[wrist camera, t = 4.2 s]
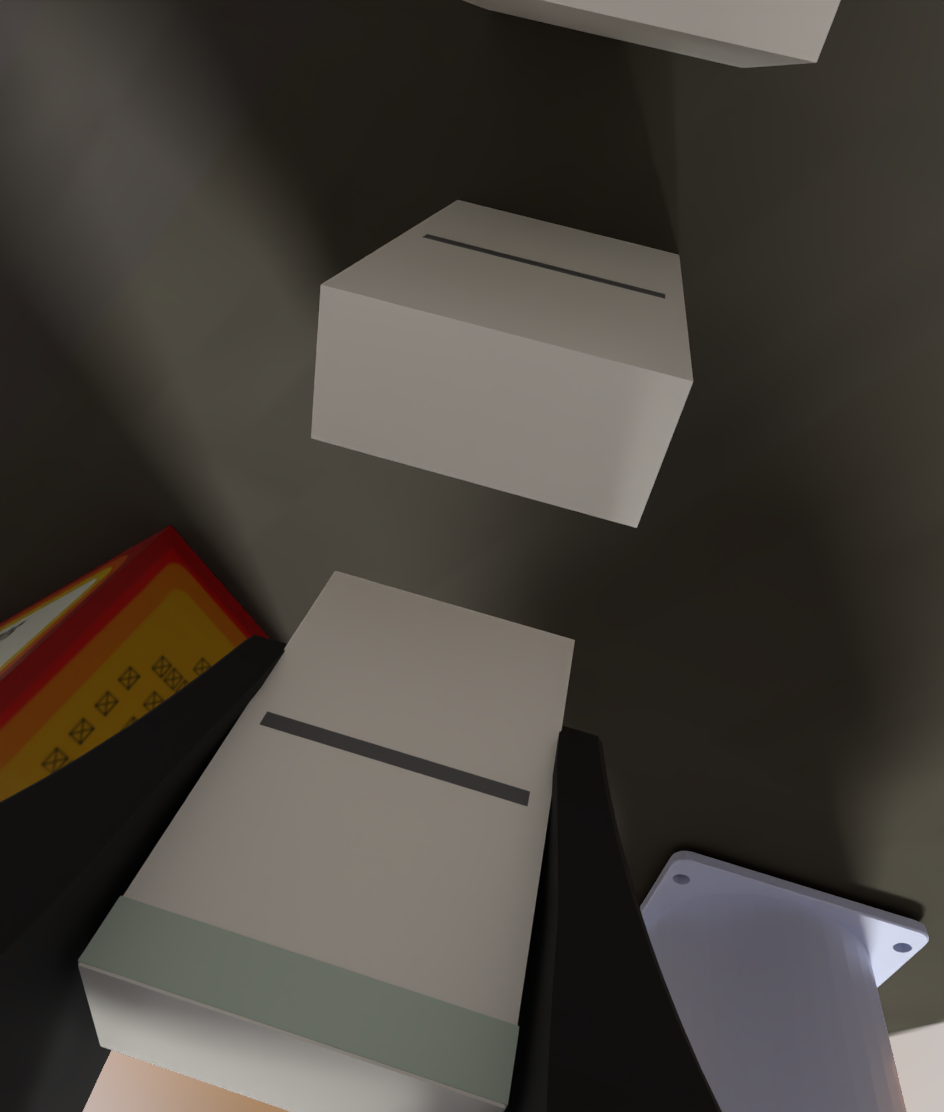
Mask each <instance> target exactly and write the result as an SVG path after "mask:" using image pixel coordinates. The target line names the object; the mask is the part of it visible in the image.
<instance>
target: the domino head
mask: <svg viewBox="0 0 944 1112" xmlns="http://www.w3.org/2000/svg"><path fill="white" fill-rule="evenodd" d="M574 643H575V640H573V639H570V638H566V637H563V636H560V635H556V634H553V633H549V632H546V631H542V630H539V629H535V628H532V627H528V626H525V625H521V624H518V623H515V622H511V621H508V620H504V619H501V618H497V617H494V616H490V615H487V614H483V613H480V612H476V611H473V610H470V609H466V608H463V607H459V606H456V605H452V604H449V603H445V602H442V601H438V600H435V599H431V598H428V597H425V596H421V595H418V594H414V593H411V592H407V591H404V590H400V589H397V588H393V587H390V586H386V585H383V584H380V583H376V582H373V581H369V580H366V579H362V578H359V577H355V576H352V575H348V574H345V573H341V572H338V571H335V572H334V573H333V575H332V576H331V578H330V579H329V581H328V582H327V584H326V585H325V587H324V589H323V590H322V592H321V593H320V595H319V596H318V598H317V599H316V601H315V602H314V604H313V605H312V607H311V608H310V610H309V612H308V613H307V615H306V616H305V618H304V619H303V621H302V622H301V624H300V625H299V627H298V628H297V630H296V631H295V633H294V635H293V636H292V638H291V639H290V641H289V642H288V644H287V645H286V647H285V648H284V650H285V652H284V653H283V655H282V656H281V658H280V659H279V661H278V662H277V664H276V665H275V667H274V669H273V670H272V672H271V673H270V675H269V676H268V678H267V679H266V681H265V682H264V684H263V686H262V687H261V688H260V690H259V691H258V692H257V693H256V695H255V696H254V697H253V698H252V700H251V701H250V702H249V704H248V705H247V707H246V708H245V710H244V711H243V713H242V714H241V716H240V717H239V719H238V720H237V722H236V723H235V725H234V727H233V728H232V730H231V731H230V733H229V734H228V736H227V737H226V739H225V740H224V742H223V743H222V745H221V746H220V748H219V750H218V751H217V753H216V754H215V756H214V757H213V759H212V760H211V762H210V763H209V765H208V766H207V768H206V769H205V771H204V773H203V774H202V776H201V777H200V779H199V780H198V782H197V783H196V785H195V786H194V788H193V789H192V791H191V792H190V794H189V796H188V797H187V799H186V800H185V802H184V803H183V805H182V806H181V808H180V809H179V811H178V812H177V814H176V815H175V817H174V819H173V820H172V822H171V823H170V825H169V826H168V828H167V829H166V831H165V832H164V834H163V835H162V837H161V838H160V840H159V842H158V843H157V845H156V846H155V848H154V849H153V851H152V852H151V854H150V855H149V857H148V858H147V860H146V861H145V863H144V865H143V866H142V868H141V869H140V871H139V872H138V874H137V875H136V877H135V878H134V880H133V881H132V883H131V884H130V886H129V888H128V889H127V891H126V892H125V894H124V895H123V896H121V895H120V897H119V898H118V900H117V901H116V903H115V904H114V906H113V908H112V909H111V911H110V912H109V914H108V915H107V917H106V918H105V920H104V921H103V923H102V924H101V926H100V927H99V929H98V930H97V932H96V933H95V935H94V936H93V938H92V940H91V941H90V943H89V944H88V946H87V947H86V949H85V950H84V952H83V953H82V955H81V956H80V958H79V959H78V963H79V964H78V967H79V971H80V974H81V978H82V982H83V985H84V989H85V992H86V996H87V1000H88V1003H89V1007H90V1010H91V1014H92V1018H93V1021H94V1025H95V1028H96V1032H97V1036H98V1039H99V1043H100V1046H101V1047H104V1048H107V1049H110V1050H113V1051H116V1052H118V1053H122V1054H125V1055H127V1056H130V1057H133V1058H136V1059H139V1060H142V1061H145V1062H148V1063H151V1064H153V1065H156V1066H159V1067H162V1068H165V1069H168V1070H171V1071H174V1072H177V1073H180V1074H183V1075H186V1076H189V1077H192V1078H194V1079H197V1080H200V1081H203V1082H206V1083H209V1084H212V1085H215V1086H217V1087H220V1088H223V1089H226V1090H229V1091H232V1092H235V1093H238V1094H241V1095H244V1096H247V1097H250V1098H252V1099H255V1100H258V1101H261V1102H264V1103H267V1104H270V1105H273V1106H276V1107H279V1108H282V1109H284V1110H287V1111H290V1112H504V1111H505V1109H506V1107H507V1106H508V1101H509V1094H510V1088H511V1081H512V1074H513V1067H514V1060H515V1054H516V1047H517V1040H518V1033H519V1026H517V1025H518V1018H519V1011H520V1004H521V998H522V991H523V984H524V978H525V971H526V964H527V958H528V951H529V944H530V938H531V931H532V924H533V917H534V911H535V904H536V897H537V891H538V884H539V877H540V871H541V864H542V857H543V851H544V844H545V837H546V830H547V824H548V817H549V810H550V804H551V797H552V779H553V770H554V763H555V756H556V750H557V743H558V737H559V731H561V730H562V723H563V717H564V710H565V703H566V697H567V690H568V683H569V677H570V670H571V663H572V656H573V650H574Z"/></svg>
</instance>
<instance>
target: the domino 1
mask: <svg viewBox="0 0 944 1112" xmlns="http://www.w3.org/2000/svg"><path fill="white" fill-rule="evenodd" d="M463 1H466V2H468V3H471V4H474V5H476V6H479V7H482V8H484V9H487V10H491V11H495V12H500V13H504V14H508V15H513V16H517V17H521V18H526V19H530V20H535V21H539V22H543V23H548V24H552V25H556V26H561V27H565V28H569V29H574V30H578V31H583V32H587V33H591V34H596V35H600V36H604V37H609V38H613V39H617V40H622V41H626V42H631V43H635V44H639V45H644V46H648V47H652V48H657V49H661V50H665V51H670V52H674V53H679V54H683V55H687V56H692V57H696V58H700V59H705V60H709V61H713V62H718V63H722V64H727V65H731V66H735V67H740V68H750V67H764V66H778V65H792V64H806V63H817V60H818V58H819V55H820V53H821V50H822V47H823V45H824V42H825V40H826V37H827V34H828V32H829V29H830V27H831V24H832V22H833V19H834V16H835V14H836V11H837V9H838V6H839V3H840V1H841V0H463Z"/></svg>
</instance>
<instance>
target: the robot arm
mask: <svg viewBox="0 0 944 1112" xmlns="http://www.w3.org/2000/svg"><path fill="white" fill-rule="evenodd" d="M286 645H287V644H285V643H281V642H278V641H274V640H271V639H268V638H264V637H261V636H258V635H253V636H251V637H249V638H247V639H246V640H245V641H243V642H242V643H241V644H240V645H238V646H237V647H236V648H234V649H233V650H232V651H231V652H229V653H228V654H227V655H225V656H224V657H223V658H222V659H220V660H219V661H218V662H216V663H215V664H214V665H213V666H211V667H210V668H209V669H207V670H206V671H205V672H203V673H202V674H201V675H199V676H198V677H197V678H195V679H194V680H193V681H191V682H190V683H189V684H187V685H186V686H184V687H183V688H182V689H180V690H179V691H178V692H176V693H175V694H173V695H172V696H170V697H169V698H168V699H166V700H165V701H163V702H162V703H161V704H159V705H158V706H156V707H155V708H153V709H152V710H151V711H149V712H148V713H146V714H145V715H144V716H142V717H141V718H139V719H138V720H136V721H135V722H133V723H132V724H130V725H129V726H127V727H126V728H124V729H123V730H121V731H119V732H118V733H116V734H115V735H113V736H112V737H110V738H109V739H107V740H105V741H104V742H102V743H101V744H99V745H98V746H96V747H94V748H93V749H91V750H90V751H88V752H87V753H85V754H84V755H82V756H80V757H79V758H77V759H75V760H74V761H72V762H70V763H69V764H67V765H65V766H64V767H62V768H60V769H59V770H57V771H55V772H53V773H52V774H50V775H48V776H46V777H45V778H43V779H41V780H39V781H38V782H36V783H34V784H32V785H30V786H28V787H27V788H25V789H23V790H21V791H19V792H18V793H16V794H14V795H12V796H10V797H8V798H6V799H5V800H3V801H1V802H0V1112H82V1111H83V1109H84V1107H85V1105H86V1103H87V1101H88V1098H89V1096H90V1094H91V1092H92V1090H93V1088H94V1086H95V1083H96V1081H97V1079H98V1077H99V1075H100V1073H101V1071H102V1068H103V1066H104V1064H105V1062H106V1060H107V1058H108V1056H109V1054H110V1052H111V1050H110V1049H107V1048H104V1047H101V1046H100V1043H99V1039H98V1036H97V1032H96V1028H95V1025H94V1021H93V1018H92V1014H91V1010H90V1007H89V1003H88V1000H87V996H86V992H85V989H84V985H83V982H82V978H81V974H80V971H79V967H78V964H79V963H78V959H79V958H80V956H81V955H82V953H83V952H84V950H85V949H86V947H87V946H88V944H89V943H90V941H91V940H92V938H93V936H94V935H95V933H96V932H97V930H98V929H99V927H100V926H101V924H102V923H103V921H104V920H105V918H106V917H107V915H108V914H109V912H110V911H111V909H112V908H113V906H114V904H115V903H116V901H117V900H118V898H119V897H120V895H121V896H123V895H124V894H125V892H126V891H127V889H128V888H129V886H130V884H131V883H132V881H133V880H134V878H135V877H136V875H137V874H138V872H139V871H140V869H141V868H142V866H143V865H144V863H145V861H146V860H147V858H148V857H149V855H150V854H151V852H152V851H153V849H154V848H155V846H156V845H157V843H158V842H159V840H160V838H161V837H162V835H163V834H164V832H165V831H166V829H167V828H168V826H169V825H170V823H171V822H172V820H173V819H174V817H175V815H176V814H177V812H178V811H179V809H180V808H181V806H182V805H183V803H184V802H185V800H186V799H187V797H188V796H189V794H190V792H191V791H192V789H193V788H194V786H195V785H196V783H197V782H198V780H199V779H200V777H201V776H202V774H203V773H204V771H205V769H206V768H207V766H208V765H209V763H210V762H211V760H212V759H213V757H214V756H215V754H216V753H217V751H218V750H219V748H220V746H221V745H222V743H223V742H224V740H225V739H226V737H227V736H228V734H229V733H230V731H231V730H232V728H233V727H234V725H235V723H236V722H237V720H238V719H239V717H240V716H241V714H242V713H243V711H244V710H245V708H246V707H247V705H248V704H249V702H250V701H251V700H252V698H253V697H254V696H255V695H256V693H257V692H258V691H259V690H260V688H261V687H262V686H263V684H264V682H265V681H266V679H267V678H268V676H269V675H270V673H271V672H272V670H273V669H274V667H275V665H276V664H277V662H278V661H279V659H280V658H281V656H282V655H283V653H284V652H285V650H284V648H285V647H286ZM928 941H929V936H928V933H927V930H926V927H925V926H924V925H923V924H922V923H921V922H918V921H916V920H913V919H910V918H907V917H904V916H900V915H897V914H894V913H890V912H887V911H884V910H881V909H877V908H874V907H871V906H868V905H864V904H861V903H858V902H855V901H851V900H848V899H845V898H841V897H838V896H835V895H832V894H828V893H825V892H822V891H819V890H815V889H812V888H809V887H806V886H802V885H799V884H796V883H792V882H789V881H786V880H783V879H779V878H776V877H773V876H770V875H766V874H763V873H760V872H757V871H753V870H750V869H747V868H744V867H740V866H737V865H734V864H730V863H727V862H724V861H721V860H717V859H714V858H711V857H708V856H704V855H701V854H698V853H695V852H691V851H679V852H676V853H674V854H673V855H672V856H671V857H670V859H669V861H668V862H667V864H666V865H665V867H664V869H663V870H662V872H661V874H660V875H659V877H658V878H657V880H656V882H655V883H654V885H653V886H652V888H651V890H650V891H649V893H648V895H647V896H646V898H645V899H644V901H643V903H642V904H641V906H640V907H639V904H638V901H637V898H636V894H635V891H634V888H633V884H632V881H631V877H630V874H629V870H628V866H627V862H626V859H625V855H624V851H623V848H622V844H621V840H620V836H619V832H618V828H617V824H616V819H615V815H614V810H613V806H612V801H611V796H610V791H609V786H608V780H607V775H606V769H605V762H604V755H603V746H602V742H601V741H600V739H599V738H598V736H595V735H591V734H588V733H585V732H581V731H578V730H575V729H571V728H568V727H564V726H562V730H561V731H559V737H558V743H557V750H556V756H555V763H554V770H553V779H552V797H551V804H550V810H549V817H548V824H547V830H546V837H545V844H544V851H543V857H542V864H541V871H540V877H539V884H538V891H537V897H536V904H535V911H534V917H533V924H532V931H531V938H530V944H529V951H528V958H527V964H526V971H525V978H524V984H523V991H522V998H521V1004H520V1011H519V1018H518V1025H517V1026H519V1033H518V1040H517V1047H516V1054H515V1060H514V1067H513V1074H512V1081H511V1088H510V1094H509V1101H508V1106H507V1107H506V1109H505V1111H504V1112H906V1108H905V1104H904V1100H903V1096H902V1091H901V1087H900V1083H899V1078H898V1074H897V1070H896V1066H895V1062H894V1057H893V1053H892V1049H891V1045H890V1040H889V1036H888V1032H887V1028H886V1024H885V1019H884V1015H883V1011H882V1007H881V1003H880V998H879V994H878V990H877V987H879V986H880V985H881V984H882V983H883V982H884V981H885V980H886V979H888V978H889V977H890V976H891V975H892V974H893V973H894V972H895V971H897V970H898V969H899V968H900V967H901V966H902V965H903V964H904V963H906V962H907V961H908V960H909V959H910V958H911V957H912V956H913V955H915V954H916V953H917V952H918V951H919V950H920V949H921V948H922V947H924V946H925V945H926V944H927V943H928Z"/></svg>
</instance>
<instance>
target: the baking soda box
mask: <svg viewBox="0 0 944 1112" xmlns="http://www.w3.org/2000/svg"><path fill="white" fill-rule="evenodd" d="M253 635H258V636H261V637H264V638H268V639H270V638H269V637H268V636H267V635H266V634H265V633H264V631H263V630H262V629H261V628H260V627H259V626H258V625H257V623H256V622H255V621H254V620H253V619H252V618H251V616H250V615H249V614H248V613H247V612H246V611H245V610H244V608H243V607H242V606H241V605H240V604H239V603H238V602H237V600H236V599H235V598H234V597H233V596H232V595H231V594H230V592H229V591H228V590H227V589H226V588H225V587H224V585H223V584H222V583H221V582H220V581H219V580H218V579H217V577H216V576H215V575H214V574H213V573H212V572H211V571H210V569H209V568H208V567H207V566H206V565H205V564H204V563H203V561H202V560H201V559H200V558H199V557H198V556H197V554H196V553H195V552H194V551H193V550H192V549H191V548H190V546H189V545H188V544H187V543H186V542H185V541H184V540H183V538H182V537H181V536H180V535H179V534H178V533H177V532H176V530H175V529H174V528H173V527H172V526H171V525H169V526H168V527H166V528H164V529H162V530H161V531H159V532H157V533H155V534H154V535H152V536H150V537H148V538H147V539H145V540H143V541H142V542H140V543H138V544H136V545H135V546H133V547H131V548H129V549H128V550H126V551H124V552H122V553H121V554H119V555H117V556H115V557H114V558H112V559H110V560H109V561H107V562H105V563H103V564H102V565H100V566H98V567H96V568H95V569H93V570H91V571H89V572H88V573H86V574H84V575H83V576H81V577H79V578H77V579H76V580H74V581H72V582H70V583H69V584H67V585H65V586H63V587H62V588H60V589H58V590H56V591H55V592H53V593H51V594H50V595H48V596H46V597H44V598H43V599H41V600H39V601H37V602H36V603H34V604H32V605H30V606H29V607H27V608H25V609H24V610H22V611H20V612H18V613H17V614H15V615H13V616H11V617H10V618H8V619H6V620H4V621H3V622H1V623H0V802H1V801H3V800H5V799H6V798H8V797H10V796H12V795H14V794H16V793H18V792H19V791H21V790H23V789H25V788H27V787H28V786H30V785H32V784H34V783H36V782H38V781H39V780H41V779H43V778H45V777H46V776H48V775H50V774H52V773H53V772H55V771H57V770H59V769H60V768H62V767H64V766H65V765H67V764H69V763H70V762H72V761H74V760H75V759H77V758H79V757H80V756H82V755H84V754H85V753H87V752H88V751H90V750H91V749H93V748H94V747H96V746H98V745H99V744H101V743H102V742H104V741H105V740H107V739H109V738H110V737H112V736H113V735H115V734H116V733H118V732H119V731H121V730H123V729H124V728H126V727H127V726H129V725H130V724H132V723H133V722H135V721H136V720H138V719H139V718H141V717H142V716H144V715H145V714H146V713H148V712H149V711H151V710H152V709H153V708H155V707H156V706H158V705H159V704H161V703H162V702H163V701H165V700H166V699H168V698H169V697H170V696H172V695H173V694H175V693H176V692H178V691H179V690H180V689H182V688H183V687H184V686H186V685H187V684H189V683H190V682H191V681H193V680H194V679H195V678H197V677H198V676H199V675H201V674H202V673H203V672H205V671H206V670H207V669H209V668H210V667H211V666H213V665H214V664H215V663H216V662H218V661H219V660H220V659H222V658H223V657H224V656H225V655H227V654H228V653H229V652H231V651H232V650H233V649H234V648H236V647H237V646H238V645H240V644H241V643H242V642H243V641H245V640H246V639H247V638H249V637H251V636H253Z"/></svg>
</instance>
